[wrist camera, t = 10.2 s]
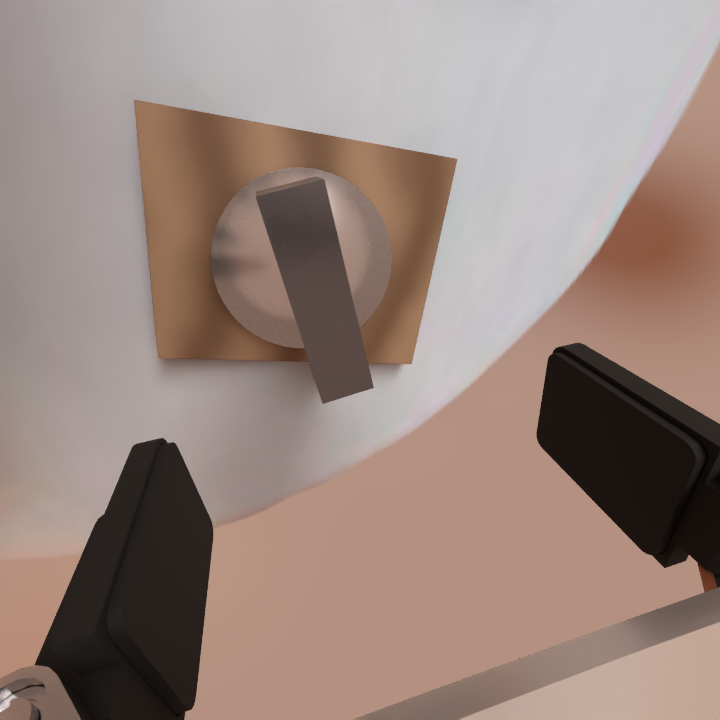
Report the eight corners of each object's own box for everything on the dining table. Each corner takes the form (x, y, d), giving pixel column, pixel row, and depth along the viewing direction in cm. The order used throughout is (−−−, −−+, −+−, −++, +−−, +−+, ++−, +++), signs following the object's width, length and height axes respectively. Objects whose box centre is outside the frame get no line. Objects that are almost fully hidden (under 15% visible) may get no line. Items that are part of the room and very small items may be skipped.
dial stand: (164, 350, 30) (157, 362, 28) (143, 104, 23) (133, 99, 21) (403, 356, 35) (411, 368, 33) (445, 159, 28) (458, 158, 27)
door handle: (182, 193, 24) (141, 211, 15) (367, 147, 25) (421, 141, 17) (259, 382, 31) (260, 463, 22) (401, 339, 32) (451, 401, 24)
